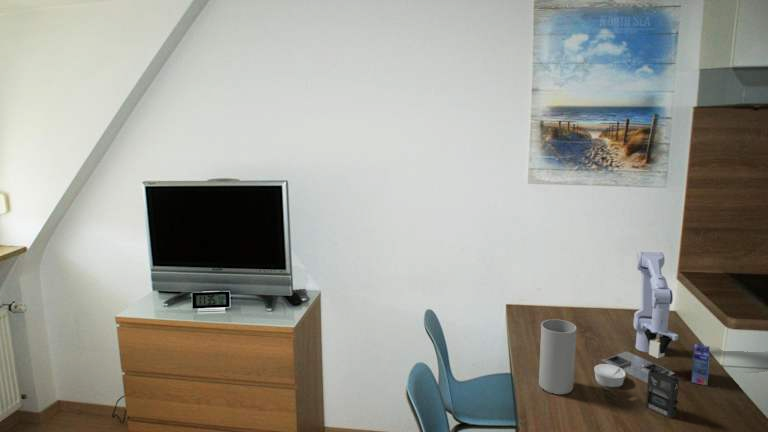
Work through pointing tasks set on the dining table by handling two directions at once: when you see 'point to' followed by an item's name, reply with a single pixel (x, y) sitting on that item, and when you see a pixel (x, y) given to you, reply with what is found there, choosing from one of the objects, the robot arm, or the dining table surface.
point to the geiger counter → (662, 393)
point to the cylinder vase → (557, 356)
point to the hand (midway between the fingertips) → (657, 350)
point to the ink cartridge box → (700, 364)
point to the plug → (655, 348)
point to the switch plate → (635, 365)
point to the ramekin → (609, 375)
